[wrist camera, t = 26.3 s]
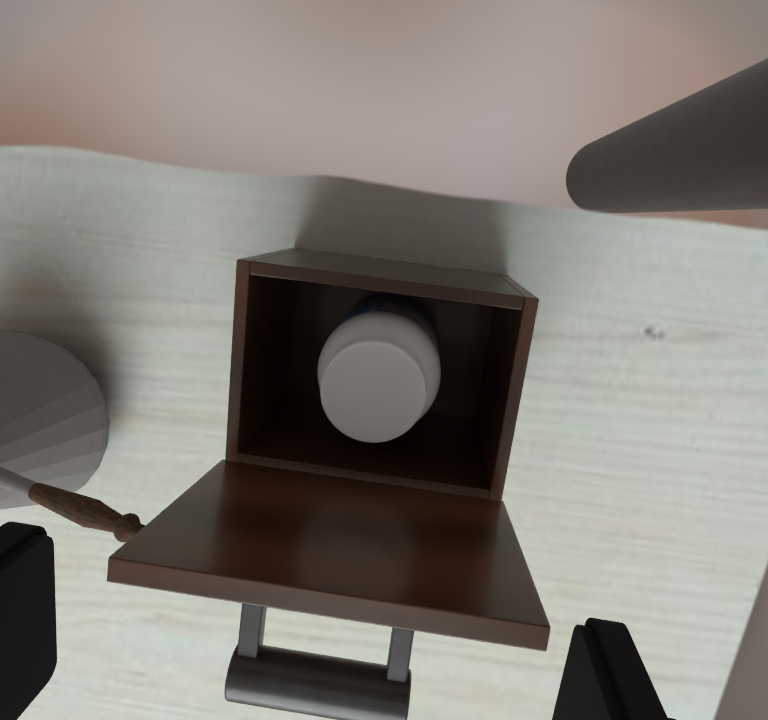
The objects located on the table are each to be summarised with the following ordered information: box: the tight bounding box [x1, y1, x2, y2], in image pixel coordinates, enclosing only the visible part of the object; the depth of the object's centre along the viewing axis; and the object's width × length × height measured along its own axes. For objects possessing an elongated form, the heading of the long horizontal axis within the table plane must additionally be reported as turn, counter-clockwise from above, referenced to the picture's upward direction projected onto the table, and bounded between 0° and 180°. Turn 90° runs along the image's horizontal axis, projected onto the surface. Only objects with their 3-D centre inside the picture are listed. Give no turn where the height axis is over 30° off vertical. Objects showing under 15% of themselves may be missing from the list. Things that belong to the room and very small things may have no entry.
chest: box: [225, 248, 539, 501], centre depth 31 cm, size 10×13×11 cm
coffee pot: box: [0, 331, 145, 542], centre depth 32 cm, size 21×12×15 cm, turn 87°
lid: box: [107, 460, 550, 720], centre depth 22 cm, size 10×13×5 cm
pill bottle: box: [318, 293, 441, 443], centre depth 30 cm, size 6×6×11 cm
